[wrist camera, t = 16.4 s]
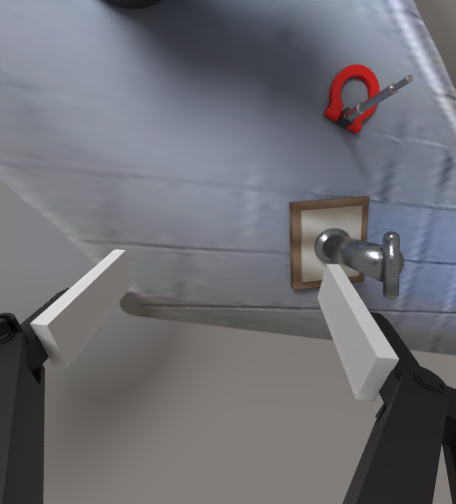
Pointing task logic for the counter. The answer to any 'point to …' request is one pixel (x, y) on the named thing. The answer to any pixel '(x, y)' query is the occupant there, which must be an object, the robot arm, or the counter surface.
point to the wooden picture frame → (312, 225)
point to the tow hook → (363, 110)
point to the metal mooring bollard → (364, 256)
